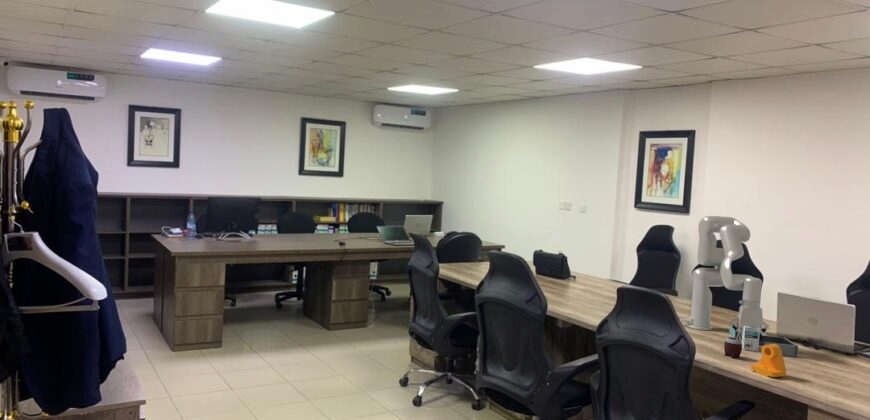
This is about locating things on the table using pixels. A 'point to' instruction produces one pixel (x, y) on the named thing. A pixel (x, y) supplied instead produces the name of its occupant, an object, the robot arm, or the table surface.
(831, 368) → the table surface
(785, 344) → the tray
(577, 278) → the table surface
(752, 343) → the light bulb box
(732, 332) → the tray
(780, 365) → the bracket
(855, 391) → the table surface
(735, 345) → the mate gourd
